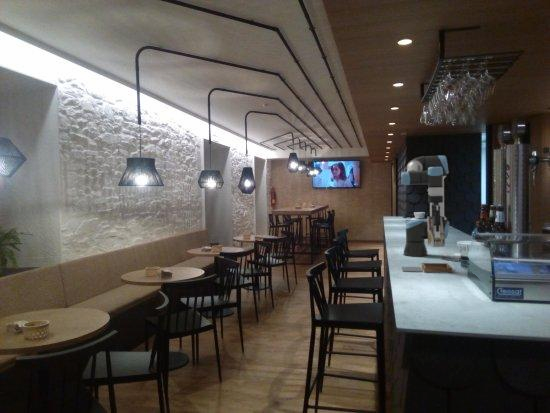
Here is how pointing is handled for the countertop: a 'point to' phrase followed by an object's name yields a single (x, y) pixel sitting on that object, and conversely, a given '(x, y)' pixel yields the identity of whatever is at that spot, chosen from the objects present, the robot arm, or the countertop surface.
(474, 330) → the countertop surface
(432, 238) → the coffee box
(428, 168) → the robot arm
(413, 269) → the slate mat
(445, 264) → the walnut collar
